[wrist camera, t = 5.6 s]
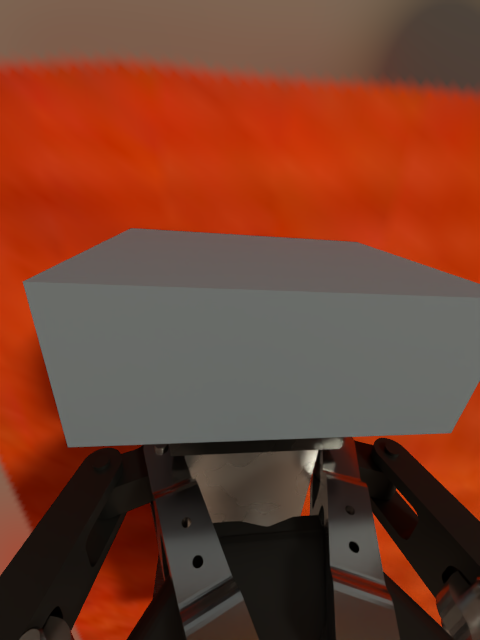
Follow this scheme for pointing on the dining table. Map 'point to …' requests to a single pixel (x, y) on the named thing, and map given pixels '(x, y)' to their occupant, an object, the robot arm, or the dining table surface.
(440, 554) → the robot arm
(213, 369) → the grey block
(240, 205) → the dining table surface
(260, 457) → the light grey square bar
